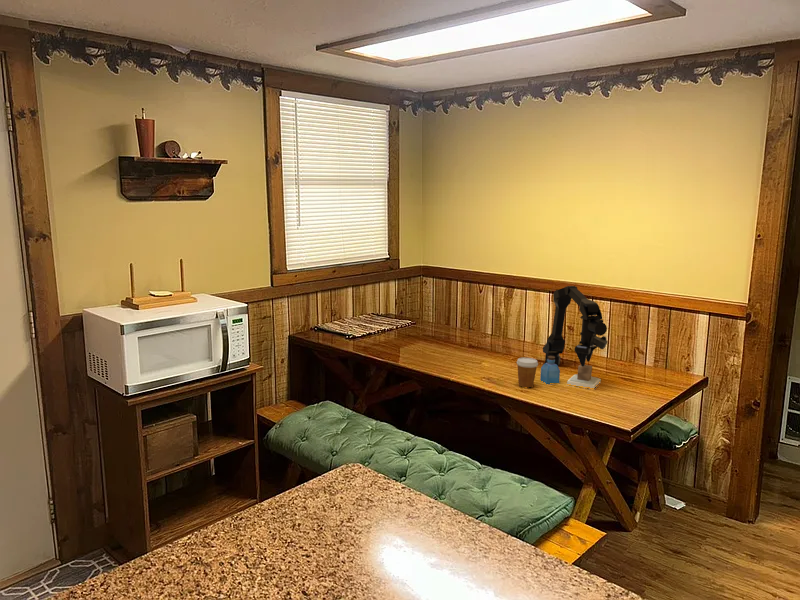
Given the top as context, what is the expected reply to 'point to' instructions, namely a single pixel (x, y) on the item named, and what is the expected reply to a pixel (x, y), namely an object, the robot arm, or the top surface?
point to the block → (584, 372)
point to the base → (584, 382)
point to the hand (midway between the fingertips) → (585, 363)
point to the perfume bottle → (550, 371)
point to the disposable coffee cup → (526, 371)
